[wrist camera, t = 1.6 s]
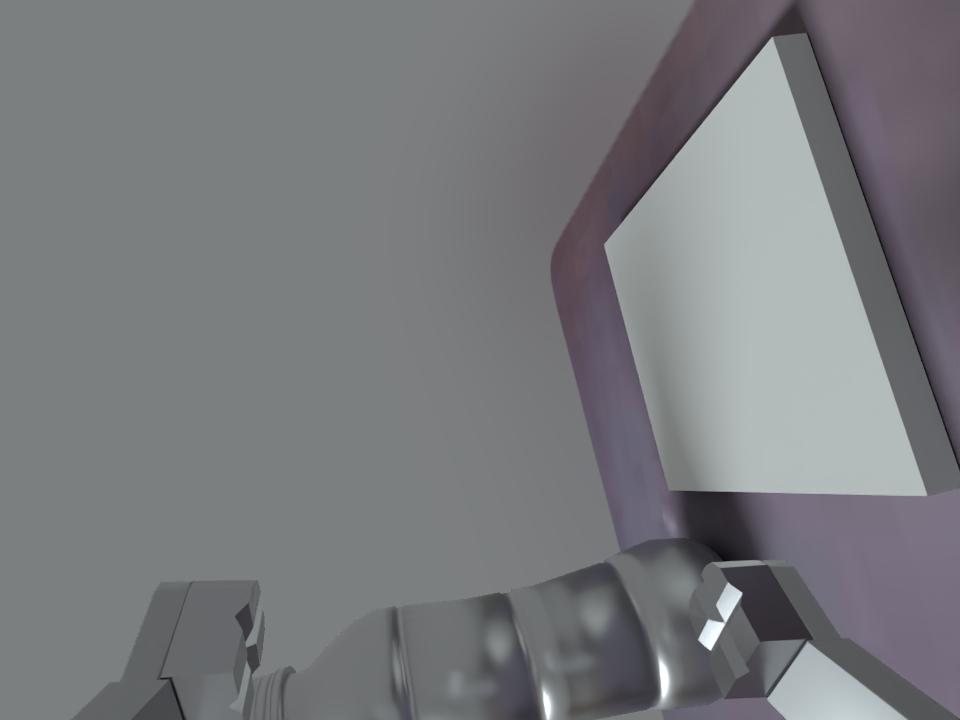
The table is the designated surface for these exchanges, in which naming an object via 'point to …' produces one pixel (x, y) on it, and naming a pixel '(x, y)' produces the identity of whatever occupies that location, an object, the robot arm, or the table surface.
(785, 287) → the bottle pad
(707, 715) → the table surface
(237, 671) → the robot arm
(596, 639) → the plastic bottle
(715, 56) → the table surface
